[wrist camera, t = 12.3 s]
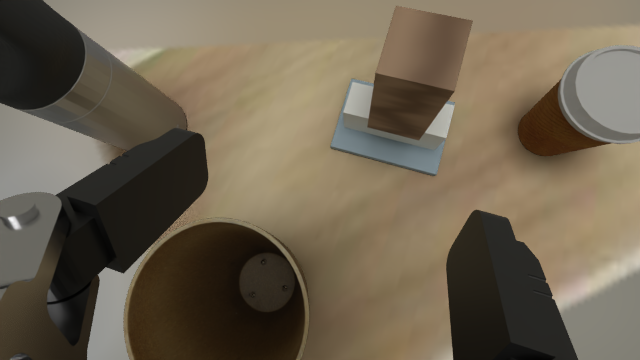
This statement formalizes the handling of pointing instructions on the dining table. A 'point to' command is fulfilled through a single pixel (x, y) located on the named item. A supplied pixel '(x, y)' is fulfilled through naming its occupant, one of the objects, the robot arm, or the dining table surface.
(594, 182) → the dining table surface
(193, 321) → the plant pot
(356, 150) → the butter dish
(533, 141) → the disposable coffee cup
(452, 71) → the post
